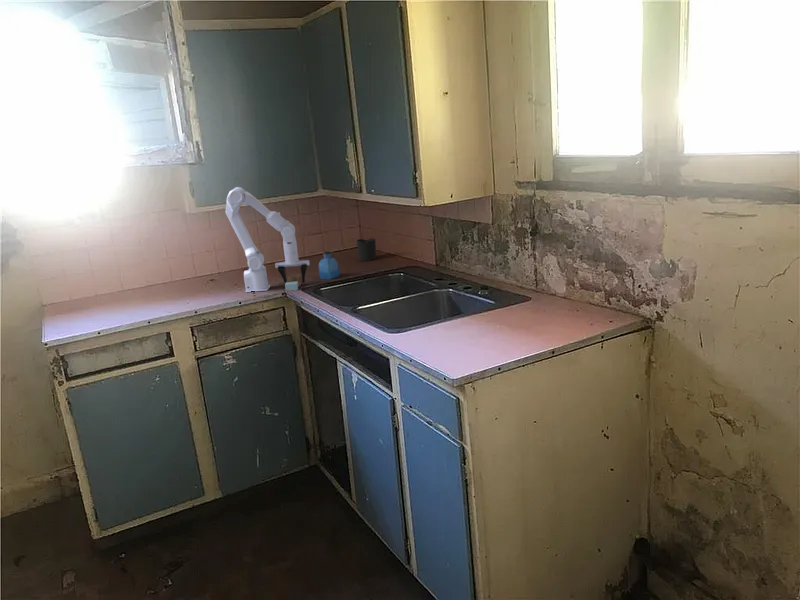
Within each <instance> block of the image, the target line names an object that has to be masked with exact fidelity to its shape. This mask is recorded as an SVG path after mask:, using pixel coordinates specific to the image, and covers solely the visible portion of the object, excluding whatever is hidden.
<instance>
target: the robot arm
mask: <svg viewBox="0 0 800 600" xmlns="http://www.w3.org/2000/svg"><path fill="white" fill-rule="evenodd" d="M242 205H244V206H250V207H252V209H254V210H256V211H257V212H258V213H260V214H261V215H263V216H264V217H265V218H266V221H265V222H266V223H268V225H270V226H271V227H272V228H274V230H276V231H277V232H280V235H281V237H282V240H283V241H282V246H283V247H282V248H283V255H284V261H282V262H281V261H279V262H275V264H274V265H275V269H277V270H278V272H279V274H280V275H281V277H282V279H283V282H284V285H285V284H286V282H288V277H287V271H286V268H288V267H300V271H301V272H300V273H301V282H302V283H305V281H306V279H305V278H306V272H307V268H308V266H310V265H311V263H310V260H309V259H302V260H301V259H299V253H298V244H297V242H298V241H297V238H296V228H295V225H294V224H293V223H292V222H290V221H289V220H288V219H287V220H286V219H285V218H284V217H283V216H282V215H281V212H279V211H278V212H277V211H275V210H273V211H271V210H270V209H268V208H267V207H266V206H265V205H264V204H263V203H262V202H261V201H260V200H259V199H258V198H257V197H255V196H254V194H253V195H252V193H250V192H249V191H248V190H245V189H244V188H243V187H241V186H236V187H234V188H233V189H231V190H230V191H229V192H228V194H227V197H226V205H225V211H224V212H225V215H226V217H227V218H228V221H229V223H230V224H231V227H232V229H233V230H234V232H235V235H236V237H237V239H238V241H239V242H240V245H241V246H242V249H243V251H244V255H245V257H246V260H247V267H248V269H247V270H246V269H245V270H244V271H243V281H244V287H245V293H252V292H251V291H255V292H263V291H265V292H266V291H269V290H270V288H271V285H270V284H269V281H268V275H267V267H266V266H265V265H264V264H265V256H264V254H263V253H261V252H260V251H259V248H258V247H257V246H256V244H255V243H254V241H253V239H252V237H251V234H250V233H249V231H248V229H247V227H246V224H245V222H244V221H243V219H242V217H241V215H240V213H239V210H240V208H241V206H242Z"/></svg>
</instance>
